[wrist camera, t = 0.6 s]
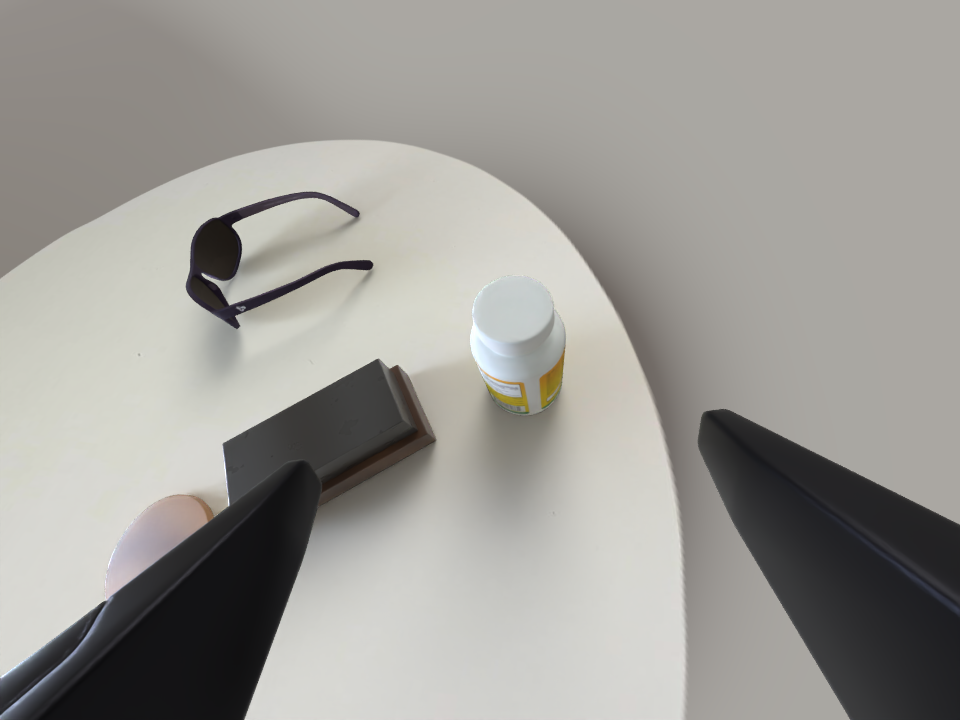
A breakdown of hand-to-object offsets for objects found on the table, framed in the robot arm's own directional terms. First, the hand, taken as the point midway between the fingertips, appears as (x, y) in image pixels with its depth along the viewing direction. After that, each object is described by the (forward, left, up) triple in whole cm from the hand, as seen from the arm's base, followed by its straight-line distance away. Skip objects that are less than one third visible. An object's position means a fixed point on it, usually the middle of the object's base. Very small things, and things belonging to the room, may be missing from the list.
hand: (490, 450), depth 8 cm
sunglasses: (+26, +19, -16) cm, 35 cm away
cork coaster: (+1, +27, -16) cm, 31 cm away
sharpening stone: (+6, +13, -16) cm, 21 cm away
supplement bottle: (+8, -1, -16) cm, 18 cm away
